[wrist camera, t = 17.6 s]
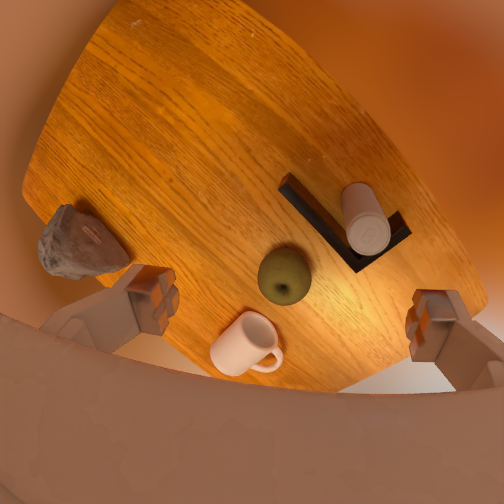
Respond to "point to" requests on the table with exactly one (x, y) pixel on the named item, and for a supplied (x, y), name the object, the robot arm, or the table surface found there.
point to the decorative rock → (79, 246)
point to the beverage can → (364, 220)
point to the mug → (246, 345)
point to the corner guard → (332, 229)
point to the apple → (284, 277)
